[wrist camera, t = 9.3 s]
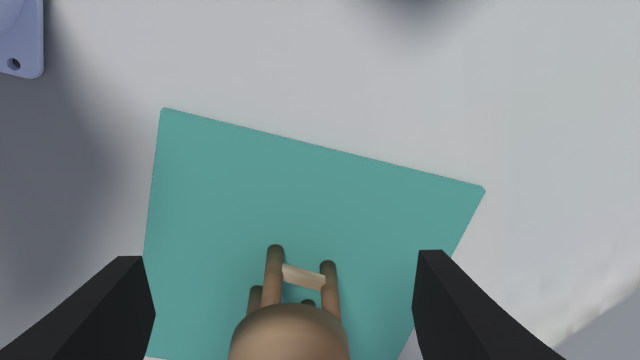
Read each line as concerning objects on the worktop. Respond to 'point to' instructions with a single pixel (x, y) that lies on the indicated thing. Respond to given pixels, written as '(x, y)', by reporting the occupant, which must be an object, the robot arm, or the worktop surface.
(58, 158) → the worktop surface
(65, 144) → the worktop surface
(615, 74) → the worktop surface
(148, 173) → the worktop surface
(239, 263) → the teal mat
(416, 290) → the robot arm
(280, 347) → the walnut stool
